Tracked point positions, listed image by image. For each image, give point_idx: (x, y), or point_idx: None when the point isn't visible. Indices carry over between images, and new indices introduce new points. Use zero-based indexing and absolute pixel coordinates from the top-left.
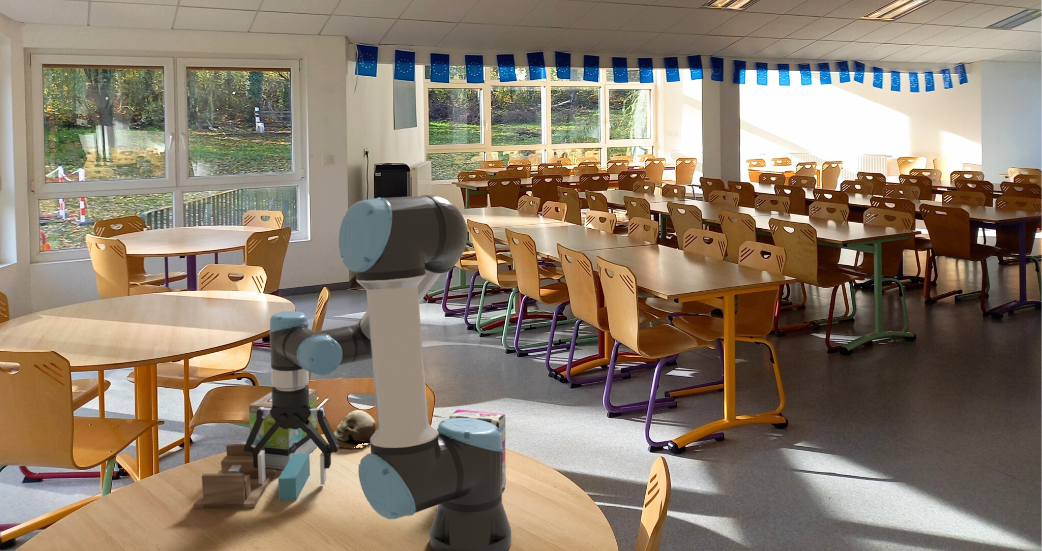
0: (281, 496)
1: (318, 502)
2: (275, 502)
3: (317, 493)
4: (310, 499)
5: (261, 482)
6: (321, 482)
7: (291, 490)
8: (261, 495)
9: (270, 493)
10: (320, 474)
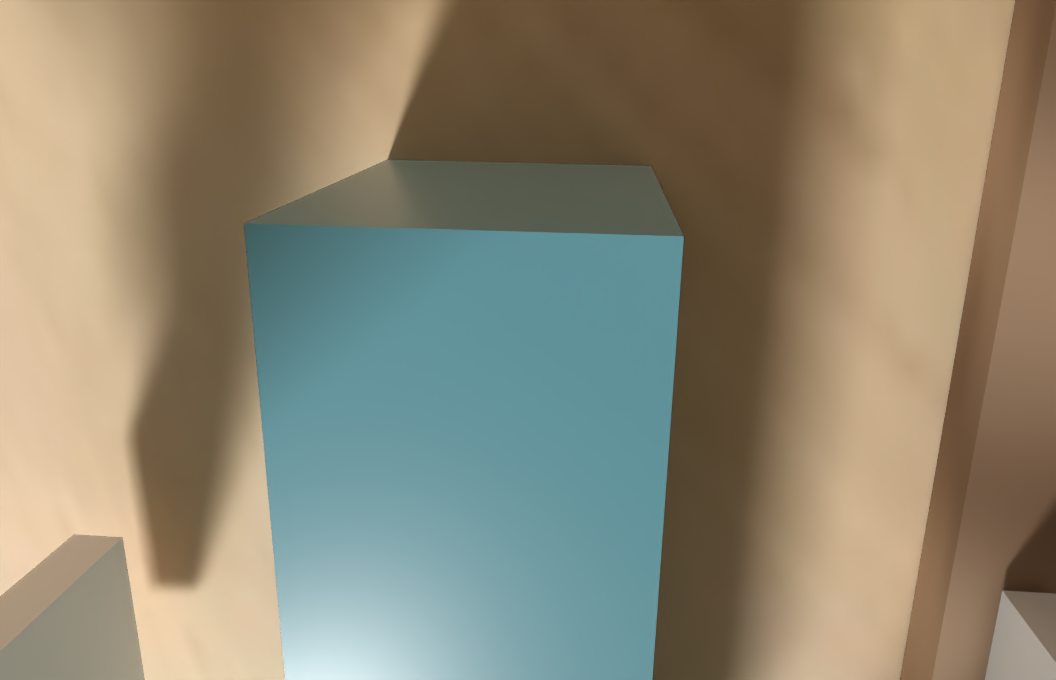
0: (614, 170)
1: (38, 72)
2: (699, 91)
3: (155, 377)
4: (189, 183)
5: (1029, 608)
6: (87, 554)
7: (424, 186)
8: (962, 334)
9: (830, 414)
10: (14, 638)
